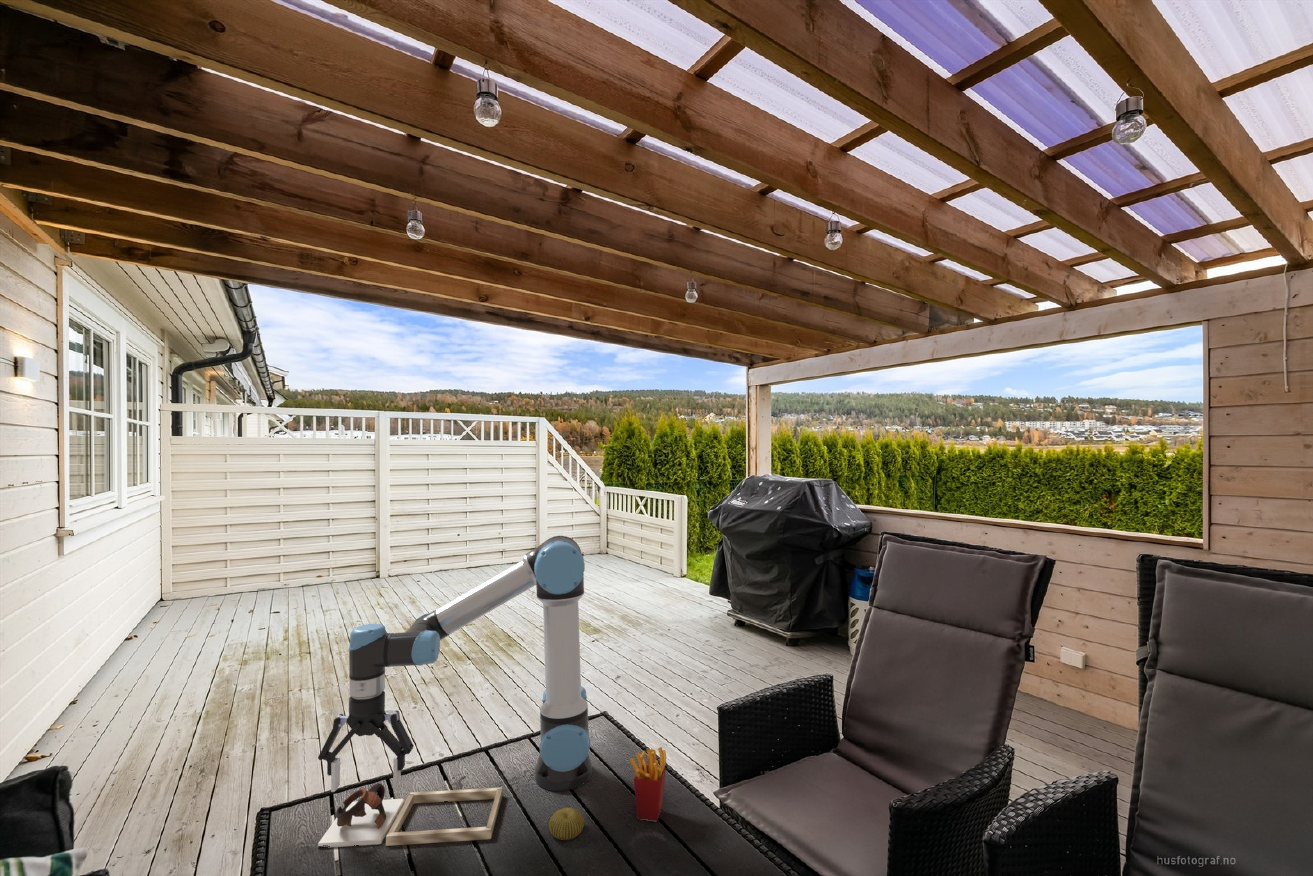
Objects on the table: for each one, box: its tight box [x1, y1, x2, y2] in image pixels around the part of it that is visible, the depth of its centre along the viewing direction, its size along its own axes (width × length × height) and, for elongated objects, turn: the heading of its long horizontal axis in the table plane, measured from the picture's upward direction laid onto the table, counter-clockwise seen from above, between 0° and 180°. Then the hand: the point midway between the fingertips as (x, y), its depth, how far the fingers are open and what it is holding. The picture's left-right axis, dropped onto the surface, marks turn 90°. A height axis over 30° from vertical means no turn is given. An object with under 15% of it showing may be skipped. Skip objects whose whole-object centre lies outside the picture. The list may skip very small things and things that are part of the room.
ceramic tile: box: [317, 798, 405, 848], centre depth 130 cm, size 13×15×1 cm
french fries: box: [629, 746, 667, 821], centre depth 136 cm, size 9×8×15 cm
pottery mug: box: [334, 782, 386, 829], centre depth 130 cm, size 12×10×8 cm
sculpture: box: [548, 806, 585, 841], centre depth 128 cm, size 8×4×8 cm
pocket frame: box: [385, 786, 504, 847], centre depth 133 cm, size 22×16×2 cm
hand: (366, 786), depth 131 cm, fingers open, 13 cm apart
